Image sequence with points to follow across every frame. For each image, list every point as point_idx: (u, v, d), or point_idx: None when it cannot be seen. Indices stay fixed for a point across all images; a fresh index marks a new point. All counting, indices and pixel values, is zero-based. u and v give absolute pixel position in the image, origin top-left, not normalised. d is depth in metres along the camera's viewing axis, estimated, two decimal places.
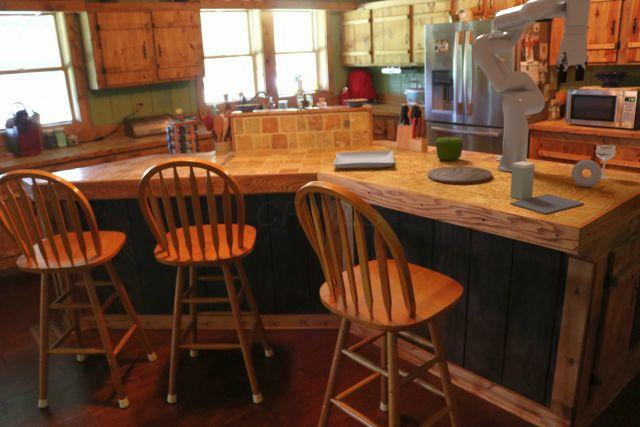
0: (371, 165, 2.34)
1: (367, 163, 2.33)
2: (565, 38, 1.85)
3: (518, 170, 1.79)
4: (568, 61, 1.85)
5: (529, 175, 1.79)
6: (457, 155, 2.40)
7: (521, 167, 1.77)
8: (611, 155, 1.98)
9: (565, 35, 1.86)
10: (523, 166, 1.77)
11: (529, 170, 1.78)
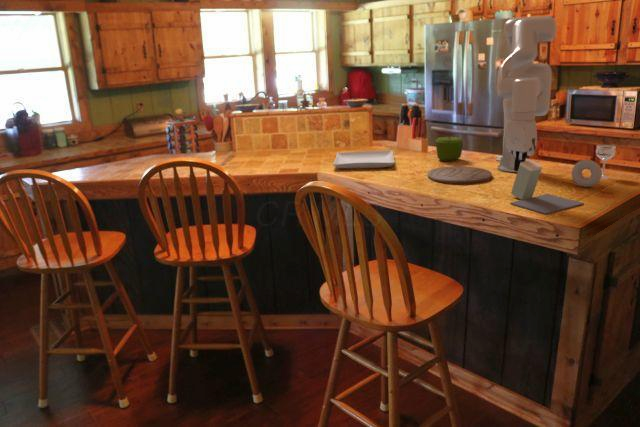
0: (371, 165, 2.34)
1: (367, 163, 2.33)
2: (532, 123, 1.73)
3: (525, 171, 1.76)
4: None
5: (534, 177, 1.77)
6: (457, 155, 2.40)
7: (528, 169, 1.75)
8: (611, 155, 1.98)
9: (528, 121, 1.73)
10: (531, 169, 1.74)
11: (536, 173, 1.76)
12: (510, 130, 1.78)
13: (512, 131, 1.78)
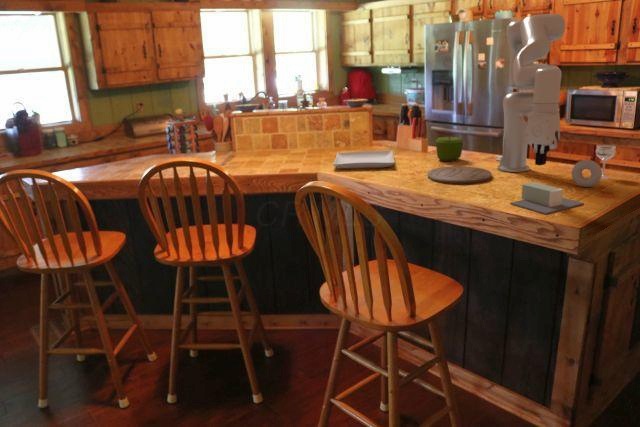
0: (371, 165, 2.34)
1: (367, 163, 2.33)
2: (556, 115, 1.65)
3: (546, 198, 1.71)
4: (558, 139, 1.68)
5: None
6: (457, 155, 2.40)
7: (549, 203, 1.70)
8: (611, 155, 1.98)
9: (551, 112, 1.65)
10: (550, 205, 1.70)
11: None
12: (532, 122, 1.70)
13: (534, 123, 1.70)
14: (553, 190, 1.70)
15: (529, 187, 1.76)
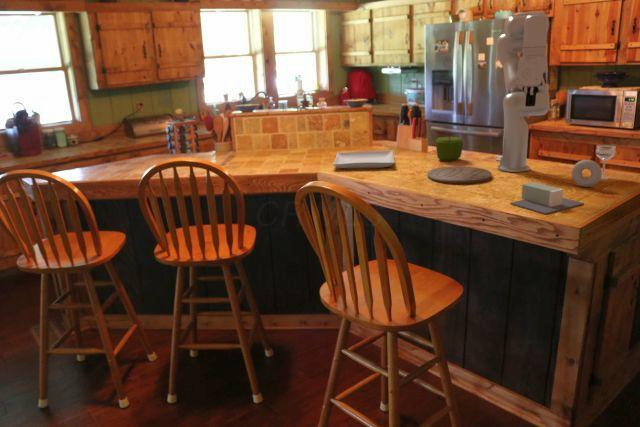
0: (371, 165, 2.34)
1: (367, 163, 2.33)
2: (543, 58, 1.81)
3: (546, 198, 1.71)
4: (546, 81, 1.84)
5: None
6: (457, 155, 2.40)
7: (549, 203, 1.70)
8: (611, 155, 1.98)
9: (539, 55, 1.81)
10: (550, 205, 1.70)
11: None
12: (522, 66, 1.86)
13: (524, 67, 1.86)
14: (553, 190, 1.70)
15: (529, 187, 1.76)
